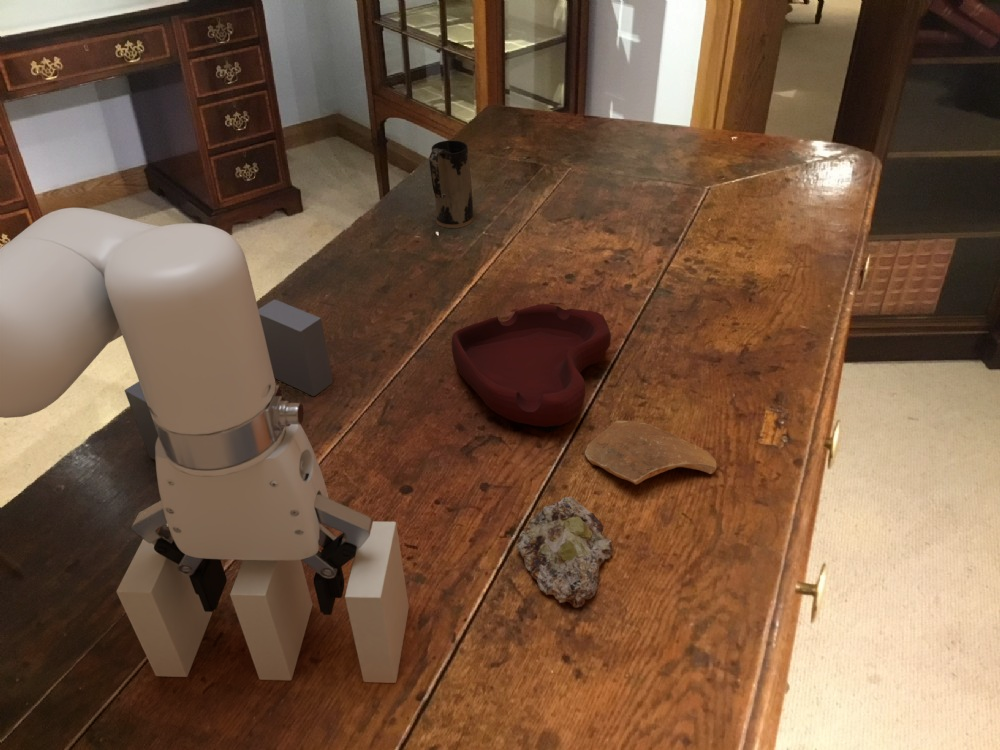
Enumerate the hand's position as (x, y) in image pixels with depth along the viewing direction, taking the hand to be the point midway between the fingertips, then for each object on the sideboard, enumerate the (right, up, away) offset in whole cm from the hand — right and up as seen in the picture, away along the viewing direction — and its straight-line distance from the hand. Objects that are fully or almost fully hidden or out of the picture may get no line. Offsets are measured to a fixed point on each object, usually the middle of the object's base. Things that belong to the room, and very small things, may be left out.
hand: (273, 597), depth 64 cm
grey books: (-10, +12, +26) cm, 30 cm away
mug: (+10, +39, +60) cm, 72 cm away
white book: (0, -4, +3) cm, 5 cm away
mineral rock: (+23, +1, +9) cm, 24 cm away
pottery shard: (+31, +8, +19) cm, 37 cm away
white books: (0, -4, +3) cm, 5 cm away
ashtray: (+20, +16, +29) cm, 38 cm away
